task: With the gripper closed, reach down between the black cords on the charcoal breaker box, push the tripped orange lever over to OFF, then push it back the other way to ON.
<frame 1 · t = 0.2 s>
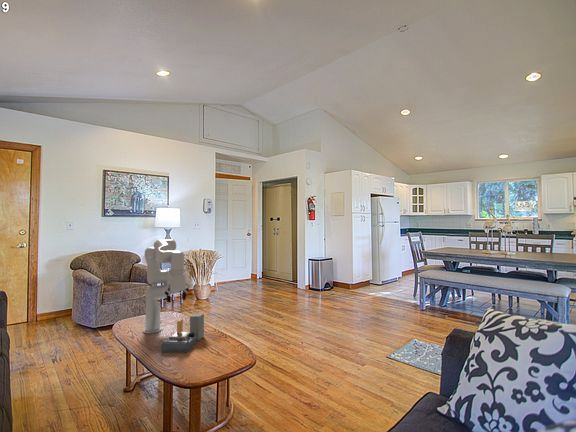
hand: (176, 300, 182), 30 cm above the table, tool pointing down, fingers open, 9 cm apart
skincare box: (196, 338, 203), on the table
breaker box: (179, 347, 188), on the table
breaker lever: (179, 326, 189), point 13 cm above the table, hinge at 0.0°
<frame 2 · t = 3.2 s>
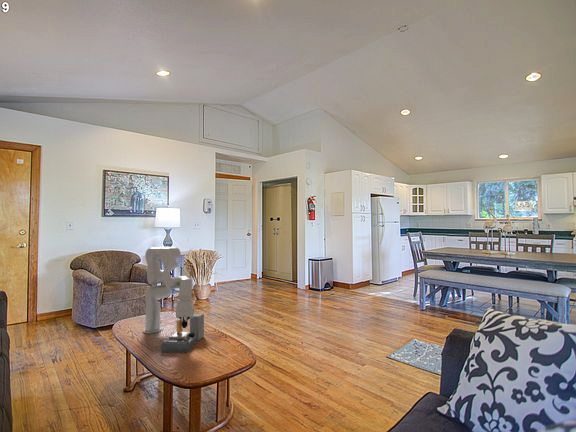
hand: (184, 327, 188), 12 cm above the table, tool pointing down, fingers closed
breaker lever: (179, 326, 189), point 13 cm above the table, hinge at 3.0°, touching gripper
everything else where it was.
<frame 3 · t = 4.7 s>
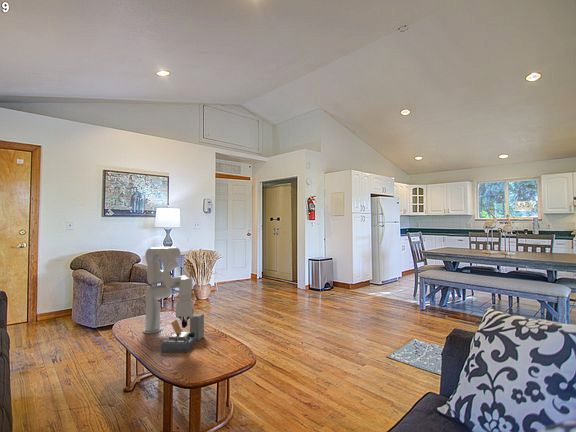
hand: (184, 327, 188), 12 cm above the table, tool pointing down, fingers closed
breaker lever: (176, 327, 189), point 12 cm above the table, hinge at 26.3°
everything else where it was.
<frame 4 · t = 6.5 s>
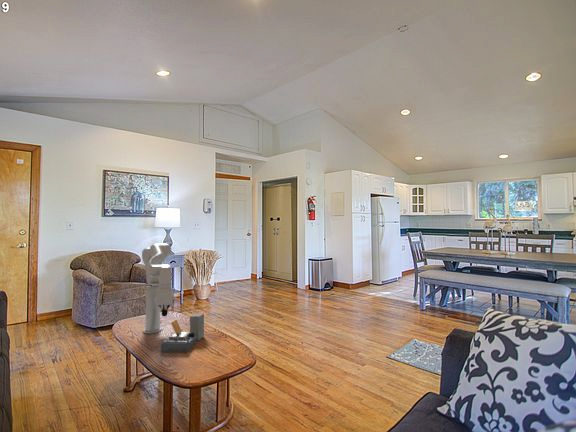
hand: (164, 315, 189), 19 cm above the table, tool pointing down, fingers closed
nothing on the table moved.
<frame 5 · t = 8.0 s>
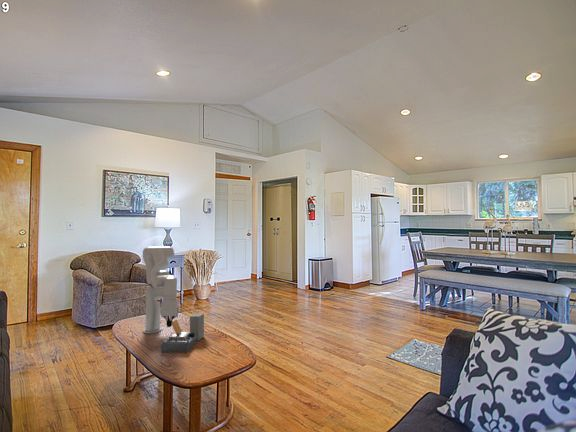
hand: (169, 326, 189), 13 cm above the table, tool pointing down, fingers closed
breaker lever: (176, 327, 189), point 12 cm above the table, hinge at 25.7°, touching gripper
everything else where it was.
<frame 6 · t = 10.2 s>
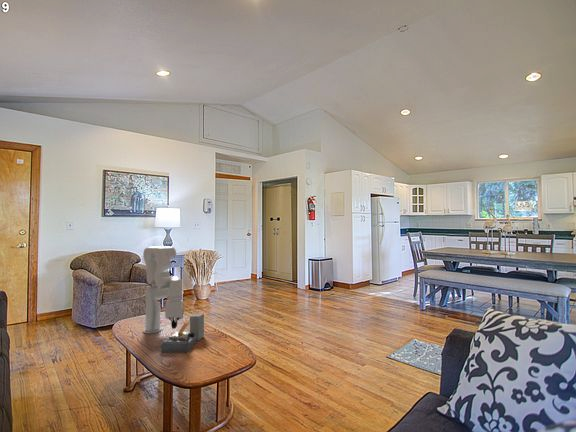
hand: (174, 327, 189), 12 cm above the table, tool pointing down, fingers closed
breaker lever: (183, 328, 188), point 12 cm above the table, hinge at -32.1°
everything else where it was.
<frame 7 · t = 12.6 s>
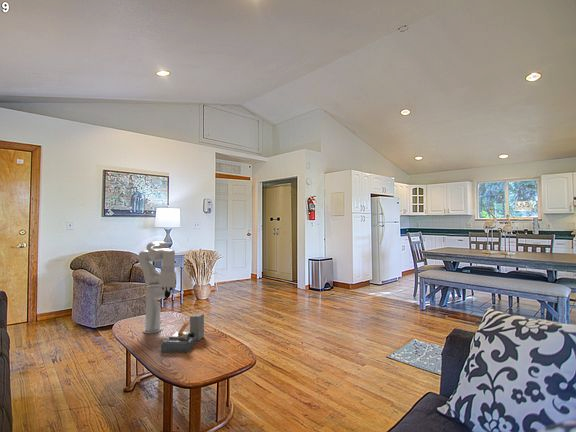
hand: (167, 297, 195), 29 cm above the table, tool pointing down, fingers closed
nothing on the table moved.
at the end: breaker lever at -32° (first picture: +0°); skincare box moved 0.2 cm from its start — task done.
